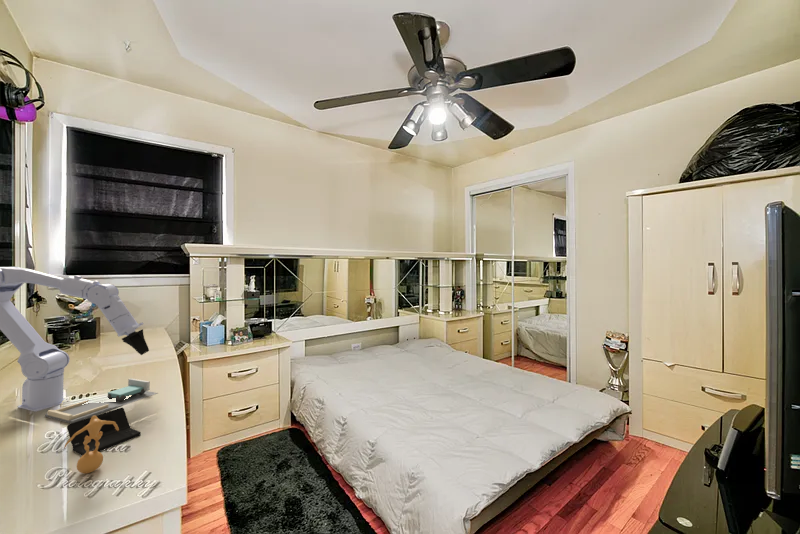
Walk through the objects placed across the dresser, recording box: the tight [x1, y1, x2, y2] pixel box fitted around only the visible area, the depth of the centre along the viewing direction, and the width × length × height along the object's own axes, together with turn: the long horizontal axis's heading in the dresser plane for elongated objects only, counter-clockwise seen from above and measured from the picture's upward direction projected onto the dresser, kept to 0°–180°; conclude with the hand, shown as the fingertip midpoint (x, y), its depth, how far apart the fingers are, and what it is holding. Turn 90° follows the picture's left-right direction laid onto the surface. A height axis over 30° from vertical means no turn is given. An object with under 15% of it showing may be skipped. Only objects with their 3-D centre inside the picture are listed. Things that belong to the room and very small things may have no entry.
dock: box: [44, 390, 158, 424], centre depth 99 cm, size 12×22×2 cm, turn 161°
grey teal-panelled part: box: [106, 378, 151, 402], centre depth 104 cm, size 9×8×4 cm
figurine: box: [64, 415, 119, 474], centre depth 66 cm, size 8×6×12 cm
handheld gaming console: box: [66, 407, 141, 457], centre depth 79 cm, size 12×7×10 cm
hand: (145, 353), depth 105 cm, fingers open, 7 cm apart
